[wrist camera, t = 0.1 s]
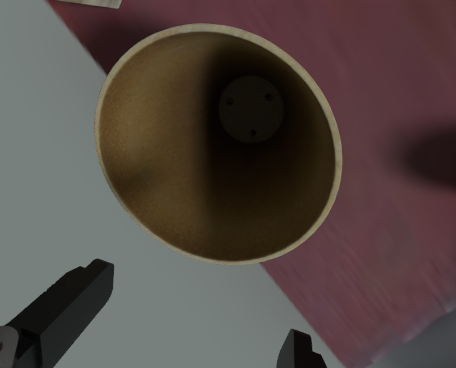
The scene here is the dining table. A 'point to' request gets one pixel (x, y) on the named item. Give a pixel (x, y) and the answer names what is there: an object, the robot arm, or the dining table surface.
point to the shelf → (98, 2)
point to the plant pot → (218, 144)
